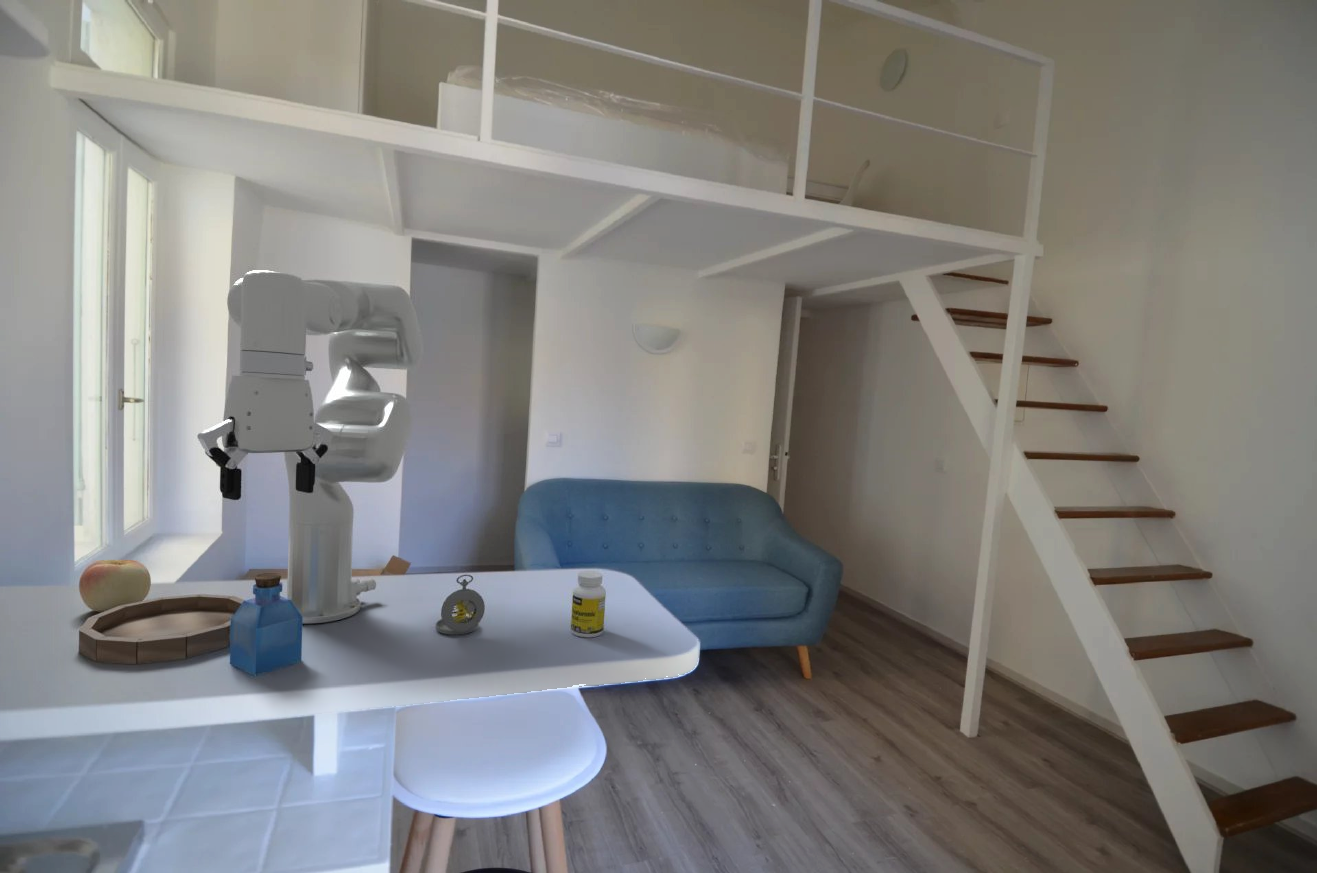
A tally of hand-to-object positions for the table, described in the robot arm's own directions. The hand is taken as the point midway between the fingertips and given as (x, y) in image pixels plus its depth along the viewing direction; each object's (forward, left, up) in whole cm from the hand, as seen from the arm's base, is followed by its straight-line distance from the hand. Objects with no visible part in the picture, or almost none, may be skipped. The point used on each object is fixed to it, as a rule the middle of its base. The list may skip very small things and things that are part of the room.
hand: (269, 495), depth 89 cm
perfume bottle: (0, 0, -23) cm, 23 cm away
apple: (+3, -37, -23) cm, 44 cm away
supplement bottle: (-37, +27, -23) cm, 51 cm away
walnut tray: (+3, -19, -23) cm, 30 cm away
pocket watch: (-24, +11, -23) cm, 35 cm away
